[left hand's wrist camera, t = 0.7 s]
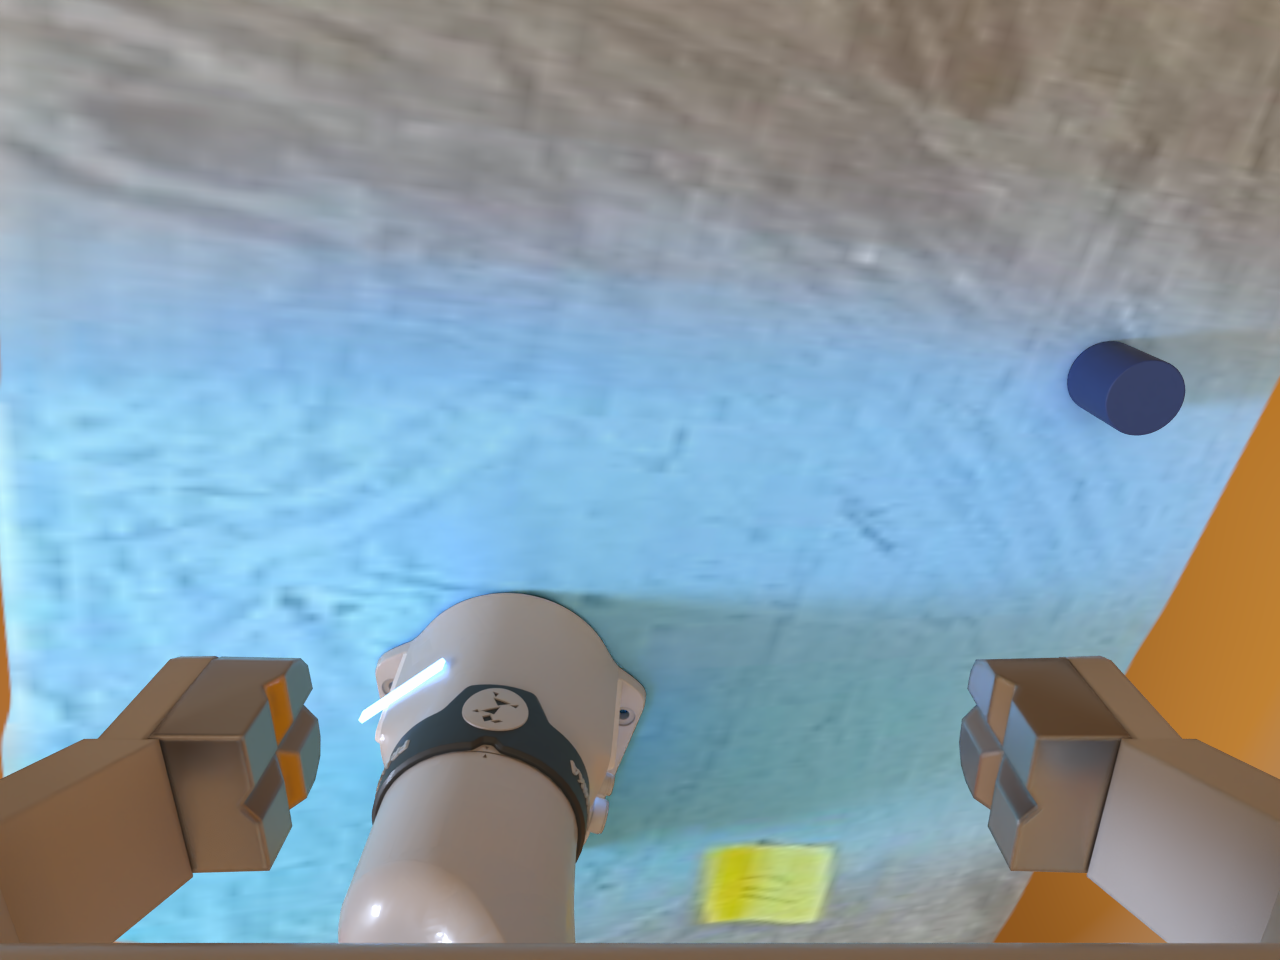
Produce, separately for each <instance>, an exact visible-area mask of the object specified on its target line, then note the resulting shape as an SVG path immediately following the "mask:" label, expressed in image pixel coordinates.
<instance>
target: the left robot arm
mask: <svg viewBox="0 0 1280 960" xmlns="http://www.w3.org/2000/svg"><path fill="white" fill-rule="evenodd" d="M375 674H376V680H377V685H378V691H379V696H380V700H379V701H377V702H376V703H374V704H373V705H371V706H370V707H368V708H367V709H365V710H364V711H363V712H362V714H361V716H360V718H359V721H360V722H361V723H363V722H365V721H366V720H368V719H369V718H371V717H372V716H374V715H375V714H377V713H378V712H380V711H381V710H382V711H383V712H382V714H381V717H380V720H379V723H378V726H377V729H376V734H375V740H376V741H377V742H378V743H380V750H381V756H382V760H383V763H384V770H383V772H382V774H381V777H380V780H379V783H378V786H377V790H376V791H377V792H376V795H375V801H374V805H373V810H372V825H373V826H372V829H371V831H370V834H369V836H368V839H367V842H366V844H365V847H364V849H363V852H362V855H361V857H360V860H359V862H358V865H357V868H356V870H355V873H354V876H353V878H352V881H351V883H350V886H349V889H348V891H347V894H346V897H345V899H344V902H343V904H342V908H341V912H340V919H339V927H338V941H339V943H113V942H114V941H115V940H117V939H118V938H119V937H120V936H121V935H123V934H124V933H125V932H126V931H128V930H129V929H130V928H131V927H132V926H134V925H135V924H136V923H137V922H139V921H140V920H141V919H142V918H143V917H145V916H146V915H147V914H148V913H150V912H151V911H152V910H153V909H154V908H156V907H157V906H158V905H159V904H160V903H162V902H163V901H164V900H165V899H167V898H168V897H169V896H170V895H171V894H173V893H174V892H175V891H176V890H178V889H179V888H180V887H181V886H182V885H184V884H185V883H186V882H187V881H188V880H190V879H191V878H192V877H193V874H192V873H203V872H237V871H270V869H271V867H272V865H273V863H274V861H275V859H276V857H277V855H278V853H279V851H280V849H281V847H282V845H283V843H284V841H285V839H286V837H287V835H288V834H289V832H290V830H291V828H292V822H291V816H290V809H291V808H293V807H294V806H296V805H297V804H298V803H300V802H301V801H303V800H304V799H306V798H307V796H308V794H309V792H310V790H311V787H312V785H313V783H314V781H315V778H316V773H317V769H318V764H319V760H320V730H319V724H318V719H317V718H316V717H315V716H314V715H313V714H312V713H311V712H310V711H309V710H308V709H307V708H306V707H305V706H304V705H303V704H304V703H305V701H306V699H307V698H308V696H309V694H310V692H311V691H312V689H313V688H312V683H311V678H310V673H309V668H308V665H307V664H306V663H305V662H304V661H303V660H302V659H301V658H265V657H216V656H188V657H177V658H174V659H170V660H169V661H168V662H167V663H166V664H165V665H164V667H163V668H162V669H161V670H160V671H159V672H158V673H157V674H156V675H155V676H154V677H153V679H152V680H151V681H150V682H149V683H148V684H147V685H146V686H145V687H144V688H143V690H142V691H141V692H140V693H139V694H138V695H137V696H136V697H135V698H134V699H133V701H132V702H131V703H130V704H129V705H128V706H127V707H126V708H125V709H124V710H123V712H122V713H121V714H120V715H119V716H118V717H117V718H116V719H115V720H114V721H113V723H112V724H111V725H110V726H109V727H108V728H107V729H106V730H105V731H104V732H103V734H102V735H101V736H100V737H99V738H98V739H83V740H81V741H79V742H77V743H75V744H73V745H71V746H68V747H66V748H64V749H62V750H60V751H58V752H56V753H54V754H52V755H50V756H48V757H46V758H44V759H42V760H39V761H37V762H35V763H33V764H31V765H29V766H27V767H25V768H23V769H21V770H19V771H17V772H15V773H13V774H10V775H8V776H6V777H4V778H2V779H0V960H1280V779H1278V778H1276V777H1273V776H1271V775H1269V774H1267V773H1265V772H1263V771H1261V770H1259V769H1257V768H1255V767H1253V766H1251V765H1249V764H1247V763H1245V762H1242V761H1240V760H1238V759H1236V758H1234V757H1232V756H1230V755H1228V754H1226V753H1224V752H1222V751H1220V750H1218V749H1216V748H1214V747H1211V746H1209V745H1207V744H1205V743H1203V742H1201V741H1199V740H1197V739H1182V738H1181V737H1180V736H1179V735H1178V734H1177V732H1176V731H1175V730H1174V729H1173V728H1172V727H1171V726H1170V725H1169V724H1168V723H1167V721H1166V720H1165V719H1164V718H1163V717H1162V716H1161V715H1160V714H1159V713H1158V712H1157V710H1156V709H1155V708H1154V707H1153V706H1152V705H1151V704H1150V703H1149V702H1148V701H1147V699H1146V698H1145V697H1144V696H1143V695H1142V694H1141V693H1140V692H1139V691H1138V690H1137V689H1136V687H1135V686H1134V685H1133V684H1132V683H1131V682H1130V681H1129V680H1128V679H1127V677H1126V676H1125V675H1124V674H1123V673H1122V672H1121V671H1120V670H1119V669H1118V668H1117V666H1116V665H1115V664H1114V663H1113V662H1112V661H1111V660H1109V659H1107V658H1104V657H1102V656H1081V657H1059V658H1025V659H977V660H976V661H975V663H974V665H973V667H972V669H971V671H970V677H969V682H968V688H967V689H968V691H969V692H970V694H971V696H972V698H973V699H974V701H975V703H976V704H977V705H976V706H975V707H974V708H973V709H972V710H971V711H970V712H969V713H968V714H967V715H966V716H965V717H964V718H963V719H962V724H961V732H960V740H959V747H960V759H961V767H962V770H963V774H964V777H965V781H966V783H967V785H968V788H969V790H970V792H971V794H972V796H973V798H974V799H976V800H977V801H979V802H980V803H982V804H983V805H984V806H986V807H987V808H989V809H990V816H989V822H988V828H989V830H990V832H991V834H992V835H993V837H994V839H995V841H996V843H997V845H998V847H999V849H1000V851H1001V853H1002V855H1003V857H1004V859H1005V861H1006V863H1007V865H1008V867H1009V868H1010V870H1011V871H1041V872H1078V873H1087V877H1088V878H1089V879H1091V880H1092V881H1093V882H1094V883H1096V884H1097V885H1098V886H1099V887H1100V888H1102V889H1103V890H1104V891H1105V892H1107V893H1108V894H1109V895H1110V896H1111V897H1113V898H1114V899H1115V900H1116V901H1117V902H1119V903H1120V904H1121V905H1122V906H1124V907H1125V908H1126V909H1127V910H1128V911H1130V912H1131V913H1132V914H1133V915H1135V916H1136V917H1137V918H1138V919H1139V920H1141V921H1142V922H1143V923H1144V924H1145V925H1147V926H1148V927H1149V928H1150V929H1151V930H1153V931H1154V932H1155V933H1156V934H1158V935H1159V936H1160V937H1161V938H1162V939H1164V940H1165V941H1166V942H1167V943H575V923H574V884H575V864H576V862H577V860H578V858H579V856H580V853H581V851H582V848H583V845H584V844H585V842H586V840H587V838H588V836H589V834H590V832H591V833H595V834H599V833H600V834H601V833H602V831H603V829H604V827H605V823H606V820H607V815H608V809H609V801H607V800H606V799H605V797H606V795H607V796H610V795H611V793H612V790H613V786H614V781H615V774H616V772H617V769H618V767H619V765H620V762H621V760H622V758H623V755H624V753H625V751H626V748H627V746H628V744H629V741H630V739H631V737H632V734H633V732H634V730H635V727H636V725H637V723H638V721H639V718H640V716H641V714H642V711H643V709H644V706H645V700H646V692H645V689H644V688H643V686H642V685H641V684H640V683H639V682H638V681H637V680H636V679H634V678H633V677H632V676H631V675H629V674H628V673H627V672H625V671H624V670H622V669H621V668H620V667H618V665H617V664H616V663H615V662H614V660H613V659H612V657H611V655H610V654H609V652H608V650H607V648H606V646H605V645H604V643H603V641H602V640H601V638H600V637H599V636H598V635H597V633H596V632H595V631H594V630H593V629H592V628H591V627H590V626H589V625H588V624H587V623H586V622H585V621H584V620H583V619H581V618H580V617H579V616H578V615H576V614H575V613H573V612H572V611H570V610H568V609H567V608H565V607H563V606H561V605H559V604H557V603H554V602H552V601H549V600H546V599H543V598H540V597H536V596H531V595H526V594H518V593H495V594H487V595H482V596H478V597H474V598H471V599H468V600H465V601H462V602H460V603H458V604H456V605H454V606H452V607H450V608H449V609H447V610H446V611H444V612H443V613H441V614H440V615H439V616H437V617H436V618H435V619H434V620H433V621H432V622H431V623H430V624H429V625H428V626H427V627H426V628H425V629H424V630H423V632H422V633H421V634H420V635H419V636H417V637H416V638H415V639H414V640H412V641H410V642H408V643H405V644H403V645H400V646H398V647H396V648H394V649H391V650H389V651H388V652H386V653H384V654H383V655H382V656H381V657H380V659H379V660H378V664H377V667H376V671H375ZM392 682H393V683H392ZM620 710H627V711H628V712H627V713H620Z"/></svg>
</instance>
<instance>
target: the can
mask: <svg viewBox="0 0 1280 960" xmlns="http://www.w3.org/2000/svg"><path fill="white" fill-rule="evenodd" d="M1067 384H1068V391H1069V394H1070V396H1071V398H1072V400H1073V401H1074V402H1075V403H1076V404H1077V405H1078V406H1080V407H1081V408H1083V409H1084V410H1086V411H1088V412H1089V413H1091V414H1092V415H1094V416H1096V417H1097V418H1099V419H1100V420H1102V421H1104V422H1105V423H1107V424H1109V425H1110V426H1112V427H1113V428H1115V429H1117V430H1118V431H1120V432H1122V433H1125V434H1128V435H1145V434H1149V433H1152V432H1155V431H1157V430H1159V429H1161V428H1162V427H1164V426H1165V425H1167V424H1168V423H1169V422H1170V421H1171V420H1172V419H1173V418H1174V417H1175V416H1176V414H1177V413H1178V411H1179V410H1180V408H1181V406H1182V403H1183V401H1184V396H1185V384H1184V380H1183V377H1182V375H1181V374H1180V372H1179V371H1178V370H1177V369H1176V368H1175V367H1174V366H1173V365H1171V364H1170V363H1167V362H1165V361H1163V360H1160V359H1158V358H1156V357H1154V356H1151V355H1149V354H1147V353H1144V352H1142V351H1140V350H1137V349H1135V348H1133V347H1131V346H1128V345H1126V344H1124V343H1121V342H1115V341H1108V342H1102V343H1099V344H1096V345H1093V346H1092V347H1090V348H1088V349H1087V350H1085V351H1084V352H1083V353H1082V354H1080V356H1079V357H1078V358H1077V359H1076V360H1075V362H1074V363H1073V365H1072V367H1071V369H1070V372H1069V375H1068V383H1067Z"/></svg>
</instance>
